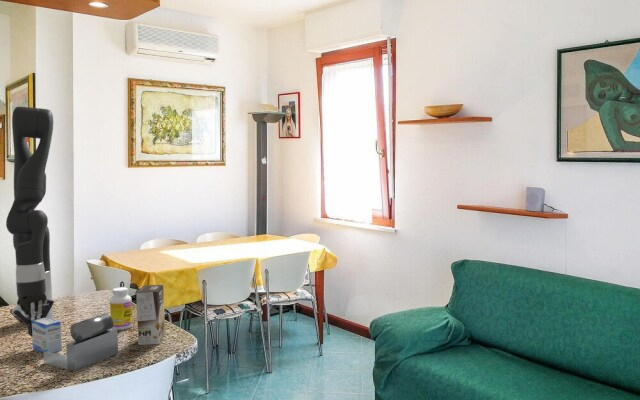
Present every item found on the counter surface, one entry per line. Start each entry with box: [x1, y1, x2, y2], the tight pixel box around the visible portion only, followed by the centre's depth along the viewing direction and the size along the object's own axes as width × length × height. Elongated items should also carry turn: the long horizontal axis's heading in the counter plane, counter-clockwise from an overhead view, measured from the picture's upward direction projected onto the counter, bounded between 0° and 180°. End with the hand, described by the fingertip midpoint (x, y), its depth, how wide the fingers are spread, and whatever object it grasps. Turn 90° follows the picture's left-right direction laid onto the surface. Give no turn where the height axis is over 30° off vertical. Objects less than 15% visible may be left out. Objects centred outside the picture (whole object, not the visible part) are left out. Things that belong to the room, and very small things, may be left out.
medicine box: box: [32, 318, 63, 353], centre depth 162 cm, size 8×4×9 cm, turn 57°
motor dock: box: [42, 312, 119, 372], centre depth 155 cm, size 14×14×12 cm
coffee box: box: [135, 284, 166, 346], centre depth 169 cm, size 9×6×16 cm
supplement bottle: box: [109, 286, 133, 331], centre depth 182 cm, size 7×7×13 cm
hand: (34, 335), depth 164 cm, fingers closed
